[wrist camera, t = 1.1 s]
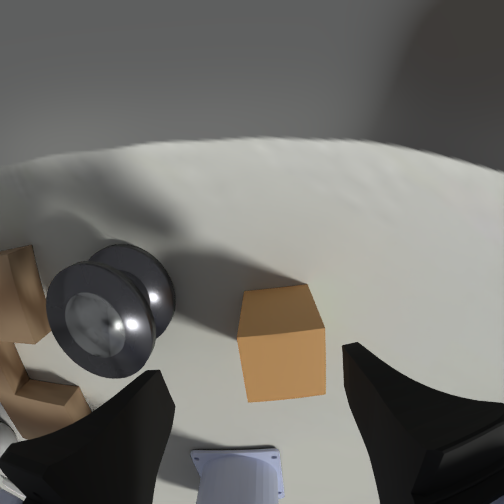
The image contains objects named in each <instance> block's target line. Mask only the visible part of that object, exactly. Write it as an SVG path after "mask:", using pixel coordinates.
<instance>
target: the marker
mask: <svg viewBox="0 0 504 504" xmlns="http://www.w3.org/2000/svg"><path fill="white" fill-rule="evenodd" d="M2 484H3V485H4V486H5V487H7V488H8V489H10V490H12V491H13V492H15V493H17V494H19V495H20V496H22V497H24V498H26V496H25V495H24V494H23V493H22V492H21V491H20V490H19V489H18V488H17V487H16V486H15V485H14V484H13V483H12V482H11V481H10V480H8V479H6V478H4V479H3V482H2Z"/></svg>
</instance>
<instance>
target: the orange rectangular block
mask: <svg viewBox="0 0 504 504" xmlns="http://www.w3.org/2000/svg"><path fill="white" fill-rule="evenodd" d="M237 342H238V348H239V353H240V359H241V365H242V371H243V377H244V382H245V388H246V394H247V399H248V402H262V401H274V400H284V399H293V398H302V397H310V396H317V395H324V394H326V348H325V327H324V324H323V322H322V319H321V317H320V314H319V312H318V309H317V307H316V304H315V302H314V299H313V297H312V294H311V292H310V289H309V287H308V285H307V284H305V285H297V286H288V287H279V288H270V289H261V290H251V291H244V295H243V302H242V308H241V314H240V321H239V327H238V333H237Z"/></svg>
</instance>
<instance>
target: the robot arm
mask: <svg viewBox="0 0 504 504" xmlns="http://www.w3.org/2000/svg"><path fill="white" fill-rule="evenodd" d="M342 352H343V372H344V388H345V391H346V395H347V399H348V403H349V406H350V409H351V411H352V414H353V416H354V419H355V421H356V424H357V426H358V428H359V431H360V433H361V436H362V438H363V441H364V443H365V446H366V448H367V451H368V454H369V457H370V461H371V465H372V468H373V472H374V476H375V481H376V485H377V490H378V494H379V499H380V504H504V404H503V403H498V402H487V401H477V400H472V399H467V398H462V397H458V396H454V395H450V394H447V393H444V392H441V391H438V390H435V389H432V388H430V387H427V386H425V385H423V384H421V383H419V382H416V381H414V380H412V379H410V378H409V377H407V376H405V375H403V374H402V373H400V372H398V371H397V370H395V369H393V368H392V367H391V366H389V365H388V364H386V363H385V362H383V361H382V360H381V359H379V358H378V357H376V356H375V355H374V354H373V353H371V352H370V351H369V350H367V349H366V348H365V347H364V346H362V345H361V344H360V343H358V342H355V343H351V344H346V345H342ZM174 413H175V404H174V402H173V400H172V397H171V395H170V393H169V391H168V388H167V386H166V383H165V381H164V379H163V376H162V374H161V371H160V370H147V371H145V372H144V373H142V374H141V375H140V376H138V377H137V378H136V379H134V380H133V381H132V382H131V383H130V384H128V385H127V386H126V387H125V388H123V389H122V390H121V391H120V392H119V393H117V394H116V395H115V396H114V397H112V398H111V399H110V400H108V401H107V402H106V403H104V404H103V405H101V406H100V407H99V408H97V409H96V410H95V411H93V412H92V413H90V414H88V415H87V416H85V417H83V418H82V419H80V420H78V421H76V422H74V423H72V424H70V425H68V426H66V427H64V428H62V429H60V430H57V431H55V432H52V433H50V434H47V435H44V436H41V437H38V438H34V439H30V440H25V441H21V442H16V443H11V444H10V445H9V447H8V448H7V449H6V451H5V452H4V453H3V455H2V456H1V457H0V469H1V470H2V472H3V473H4V474H5V475H6V476H7V478H8V479H9V480H10V481H11V482H12V483H13V484H14V485H15V486H16V487H17V488H18V489H19V490H20V491H21V492H22V493H23V494H24V495H25V496H26V498H25V500H24V501H22V500H21V499H20V498H18V497H16V496H15V495H13V494H11V493H9V492H7V491H5V490H3V489H1V490H0V504H152V502H153V494H154V488H155V482H156V476H157V472H158V469H159V465H160V462H161V459H162V456H163V453H164V450H165V447H166V444H167V441H168V438H169V435H170V432H171V429H172V425H173V419H174ZM190 455H191V458H192V460H193V462H194V465H195V467H196V469H197V471H198V473H199V476H200V478H201V480H200V485H199V490H198V496H197V501H196V504H278V499H281V498H284V486H283V478H282V469H281V461H280V453H279V450H278V449H276V448H269V449H253V450H192V451H191V453H190Z"/></svg>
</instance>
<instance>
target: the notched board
mask: <svg viewBox="0 0 504 504" xmlns="http://www.w3.org/2000/svg"><path fill="white" fill-rule="evenodd" d="M49 332H51V328H50V325H49V322H48V318H47V313H46V298H45V295H44V292H43V288H42V284H41V281H40V277H39V273H38V269H37V265H36V261H35V257H34V252H33V248H32V245H28V246H24V247H19V248H14V249H9V250H5V251H0V402H1V404H2V405H3V407H4V409H5V411H6V412H7V414H8V416H9V417H10V419H11V420H12V422H13V424H14V425H15V427H16V428H17V430H18V431H19V433H20V434H21V436H22V437H23V438H25V439H28V440H30V439H34V438H38V437H41V436H44V435H47V434H50V433H52V432H55V431H57V430H60V429H62V428H64V427H66V426H68V425H70V424H72V423H74V422H76V421H78V420H80V419H82V418H83V417H85V416H87V415H88V414H90V413H92V412H91V410H90V408H89V406H88V404H87V402H86V400H85V398H84V396H83V394H82V392H81V390H80V388H79V387H77V386H69V385H62V384H55V383H49V382H43V381H37V380H32V379H30V378H29V376H28V374H27V372H26V370H25V368H24V366H23V363H22V361H21V359H20V357H19V354H18V352H17V350H16V347H15V345H14V343H25V344H36V343H37V342H39V341H40V340H41V339H42V338H43V337H45V336H46V335H47V334H48V333H49Z"/></svg>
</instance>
